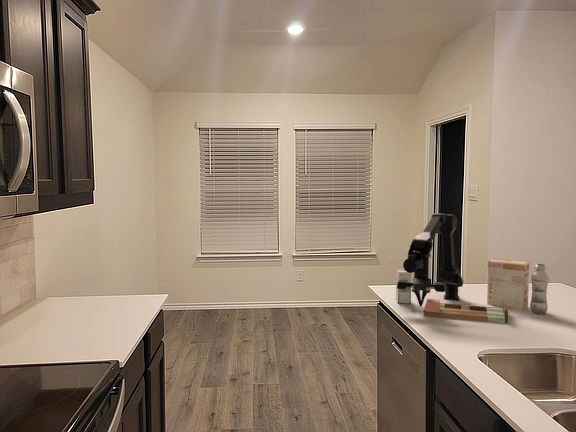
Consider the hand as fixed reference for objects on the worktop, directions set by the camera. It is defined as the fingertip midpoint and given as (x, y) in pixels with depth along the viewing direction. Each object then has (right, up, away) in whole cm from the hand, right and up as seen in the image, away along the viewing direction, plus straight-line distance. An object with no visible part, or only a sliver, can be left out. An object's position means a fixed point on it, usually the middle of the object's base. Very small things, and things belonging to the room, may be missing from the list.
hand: (420, 306), depth 193 cm
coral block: (+4, -1, -3) cm, 5 cm away
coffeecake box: (+40, -2, +11) cm, 42 cm away
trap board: (+17, -3, -2) cm, 17 cm away
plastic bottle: (+48, -3, -1) cm, 48 cm away
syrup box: (-3, -2, +17) cm, 18 cm away
